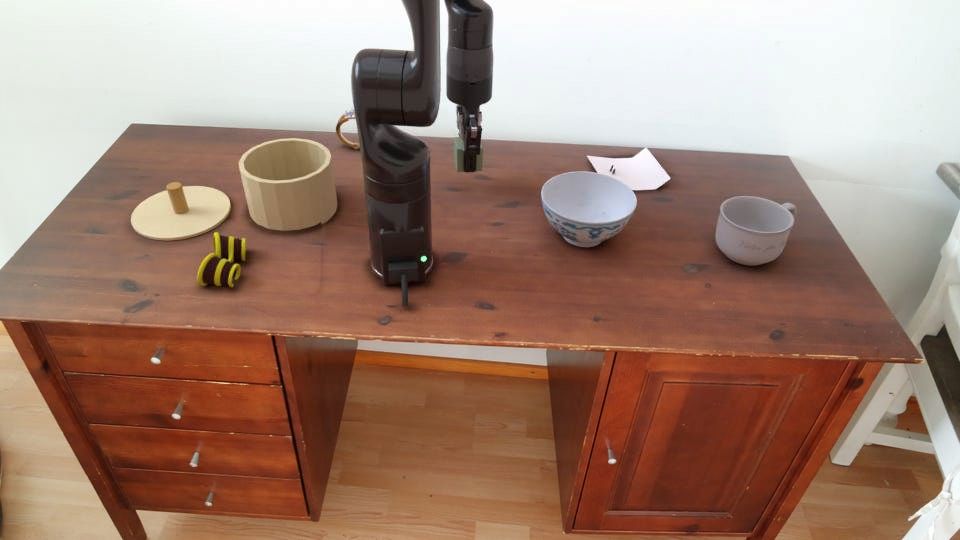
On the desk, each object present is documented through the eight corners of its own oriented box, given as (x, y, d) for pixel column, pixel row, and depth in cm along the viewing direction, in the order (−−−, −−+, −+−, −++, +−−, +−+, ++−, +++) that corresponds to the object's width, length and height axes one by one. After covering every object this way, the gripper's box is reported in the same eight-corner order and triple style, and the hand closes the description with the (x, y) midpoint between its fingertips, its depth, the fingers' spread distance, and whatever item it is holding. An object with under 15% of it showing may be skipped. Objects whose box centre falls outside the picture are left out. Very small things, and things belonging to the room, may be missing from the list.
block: (482, 171, 115) (483, 148, 112) (456, 172, 114) (456, 149, 111) (478, 158, 118) (479, 135, 115) (453, 159, 118) (453, 137, 115)
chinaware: (646, 252, 105) (655, 212, 100) (562, 271, 101) (568, 231, 96) (599, 203, 116) (606, 165, 111) (522, 219, 111) (525, 180, 106)
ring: (375, 145, 130) (372, 108, 125) (371, 153, 127) (368, 115, 122) (341, 142, 130) (337, 105, 125) (336, 150, 128) (332, 112, 123)
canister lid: (225, 239, 104) (217, 208, 101) (122, 247, 102) (110, 215, 98) (236, 188, 116) (229, 159, 112) (144, 194, 114) (133, 164, 110)
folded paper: (585, 160, 128) (587, 151, 126) (644, 156, 130) (646, 147, 128) (606, 193, 118) (608, 184, 117) (669, 188, 121) (671, 179, 119)
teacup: (732, 279, 100) (747, 236, 95) (696, 238, 109) (708, 197, 103) (809, 266, 104) (827, 224, 99) (768, 227, 112) (783, 187, 107)
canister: (337, 229, 107) (331, 179, 101) (245, 236, 105) (233, 185, 99) (337, 183, 118) (331, 136, 112) (253, 188, 116) (243, 140, 110)
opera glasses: (235, 296, 95) (235, 270, 92) (197, 292, 94) (195, 265, 91) (249, 255, 103) (250, 230, 100) (214, 251, 102) (213, 225, 99)
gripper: (442, 54, 111) (442, 146, 121) (451, 88, 99) (451, 186, 110) (485, 53, 112) (482, 144, 122) (500, 87, 100) (495, 183, 111)
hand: (467, 163), depth 116 cm, fingers closed on block, 4 cm apart
